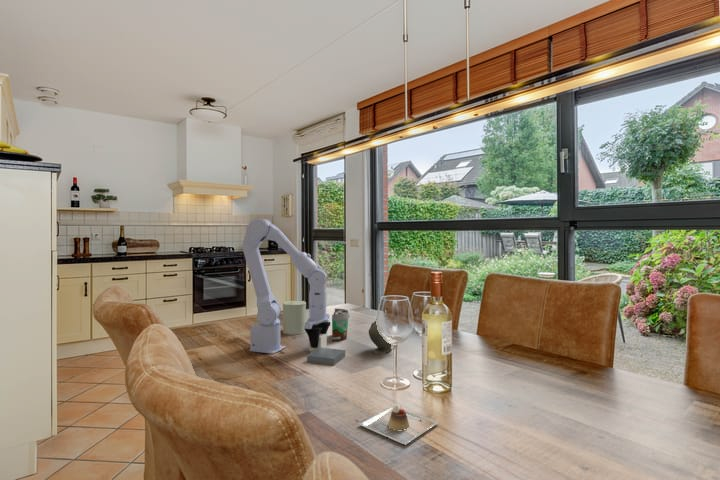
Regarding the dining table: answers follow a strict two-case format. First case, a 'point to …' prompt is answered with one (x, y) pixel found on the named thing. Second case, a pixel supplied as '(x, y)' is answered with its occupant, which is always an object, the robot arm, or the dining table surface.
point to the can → (294, 317)
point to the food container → (339, 324)
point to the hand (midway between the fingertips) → (317, 345)
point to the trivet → (326, 356)
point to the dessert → (396, 421)
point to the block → (320, 342)
